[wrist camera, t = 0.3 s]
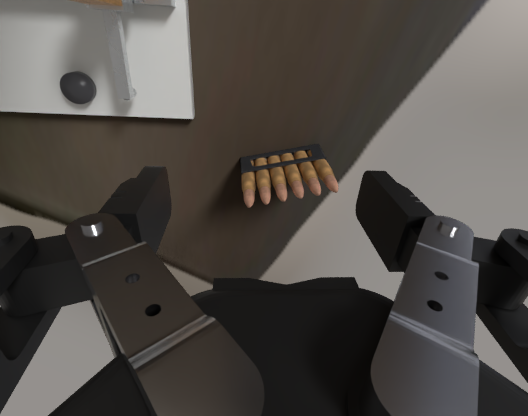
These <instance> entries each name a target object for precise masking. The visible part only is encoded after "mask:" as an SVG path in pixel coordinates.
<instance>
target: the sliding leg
mask: <svg viewBox="0 0 528 416" xmlns="http://www.w3.org/2000/svg"><path fill="white" fill-rule="evenodd" d="M70 1H75V2H79V3H84V4H86V7H87V8H89V9H94V10H100V11H102V12H103V17H104V23H105V28H106V34H107V39H108V45H109V50H110V56H111V61H112V67H113V72H114V78H115V84H116V89H117V95H118V99H124V100H130V99H132V98H134V97H135V96H136V94H137V92H136V90H135V89H134V88H132V83H131V77H130V70H129V64H128V57H127V51H126V45H125V38H124V32H123V25H122V19H121V12H129V13H134V11H133V4H132V0H70Z"/></svg>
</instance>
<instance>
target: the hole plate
mask: <svg viewBox="0 0 528 416" xmlns="http://www.w3.org/2000/svg"><path fill="white" fill-rule="evenodd" d="M175 5H176V7H164V6H150V5H135V4H133V11H134V13H129V12H121V19H122V25H123V32H124V38H125V45H126V51H127V57H128V64H129V70H130V77H131V83H132V88H134V89H135V90H136V92H137V94H136V96H135V97H134V98H132V99H130V100H124V99H118V95H117V89H116V84H115V78H114V72H113V67H112V61H111V56H110V50H109V45H108V39H107V34H106V28H105V23H104V17H103V12H102V11H100V10H94V9H89V8H87V7H86V4H84V3H79V2H75V1H70V0H0V111H3V112H28V113H53V114H79V115H104V116H129V117H154V118H180V119H193V118H194V117H195V112H194V95H193V79H192V63H191V46H190V30H189V13H188V0H175Z"/></svg>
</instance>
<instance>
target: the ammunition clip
mask: <svg viewBox="0 0 528 416" xmlns="http://www.w3.org/2000/svg"><path fill="white" fill-rule="evenodd" d="M296 164H297V165H296ZM240 165H241V174H242V191H243V195H244V201H245V204H246V205H247V207H249V208H250V207H251V206H252V205H253V203H254V199H255V190H256V184H257V187H258V190H259V193H260V197H261V200H262V201H263V203H264V204H266V205H267V204H268V203H269V202H270V198H271V189H270V188H271V181H272V184H273V186H274V188H275V191H276V194H277V196H278V198H279V199H280V200H281V201H283V202H284V201H285V200H286V198H287V189H286V179H287V181H288V183H289V185H290V186H291V188H292V190H293V192H294V194H295V195H296V196H297V197H298V198H300V199H302V197H303V194H304V190H303V186H302V182H301V181H302V178H301V176H302V177H303V180H304V181H305V182H306V183H307V185H308V186H309V188H310V190H311V191H312V192H313V193H314V194H315V195H317V196H319V195H320V193H321V187H320V183H319V181H318V178H317V174H318V176H319V178H320V179H321V180H322V181H323V182H324V183H325V184H326V186H327V187H328V188H329V189H330V190H331V191H333V192H335V193H336V192H337V191H338V184H337V181H336V179H335V177H334V175H333V171H332V169H331V167H330V166H329V164H328V163H327V161H326V157H325V155H324V153H323V151H322V149H321V147H320V145H319V144H314V145H308V146H303V147H297V148H292V149H286V150H280V151H275V152H269V153H264V154H258V155H253V156H247V157H241V158H240ZM297 166H298V168H299V170H298V168H297ZM282 167H283V168H282ZM283 169H284V171H283ZM269 171H270V175H269ZM299 171H300V172H299ZM284 172H285V175H284ZM255 173H256V179H255ZM270 176H271V177H270Z"/></svg>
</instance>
